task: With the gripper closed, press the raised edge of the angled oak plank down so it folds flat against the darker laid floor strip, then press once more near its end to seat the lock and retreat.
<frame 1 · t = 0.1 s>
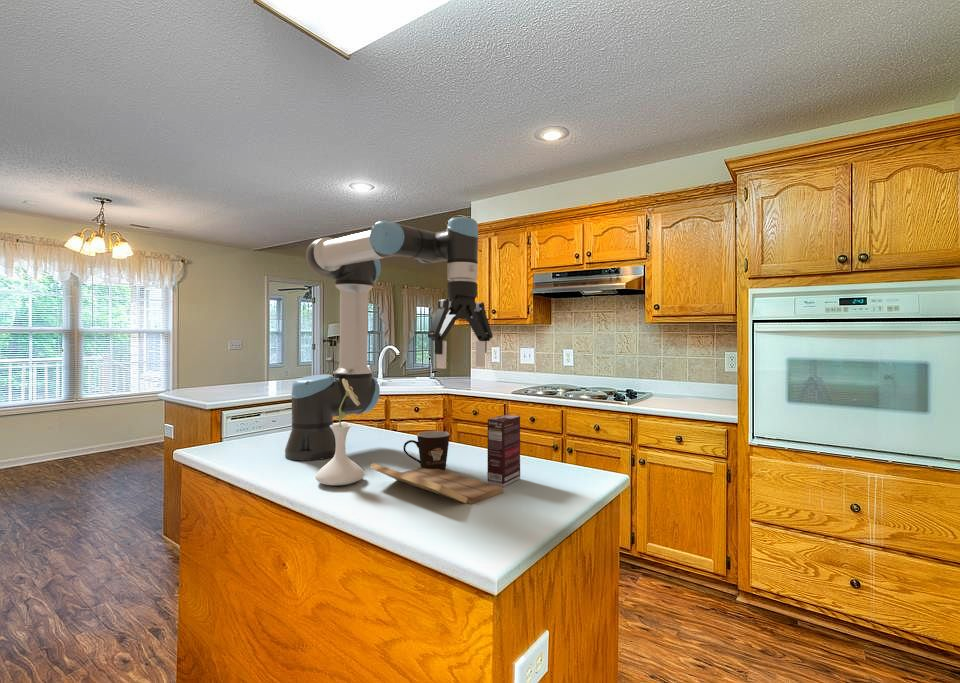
hand: (461, 367, 116), 28 cm above the table, fingers open, 13 cm apart
flower in vase: (340, 482, 114), on the table
plank: (416, 481, 105), point 3 cm above the table, hinge at 30.0°
coffee mug: (427, 472, 125), on the table, touching laid strip
supplement box: (503, 482, 116), on the table
laid strip: (447, 485, 112), on the table
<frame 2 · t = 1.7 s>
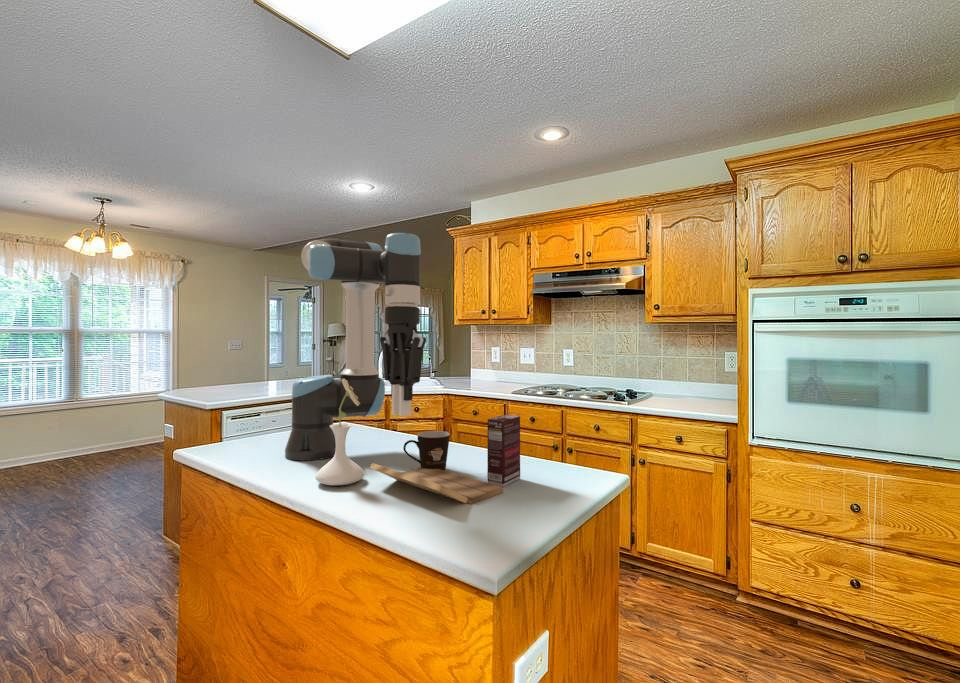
hand: (401, 414, 102), 18 cm above the table, fingers closed
nothing on the table moved.
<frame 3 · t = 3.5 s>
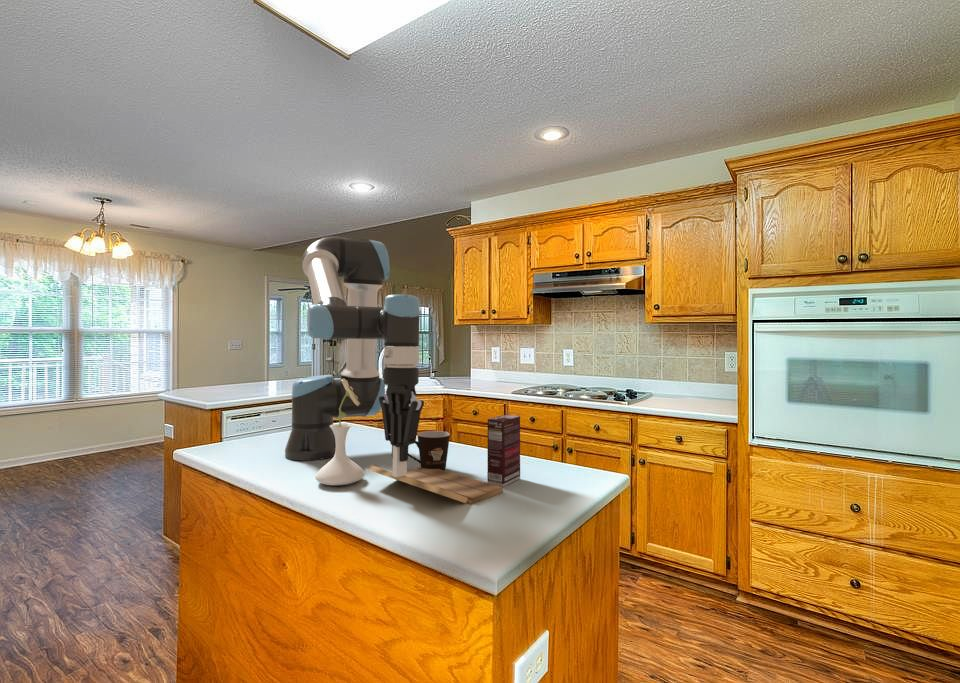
hand: (399, 475, 101), 5 cm above the table, fingers closed
plank: (416, 483, 105), point 3 cm above the table, hinge at 26.4°, touching gripper
everything else where it was.
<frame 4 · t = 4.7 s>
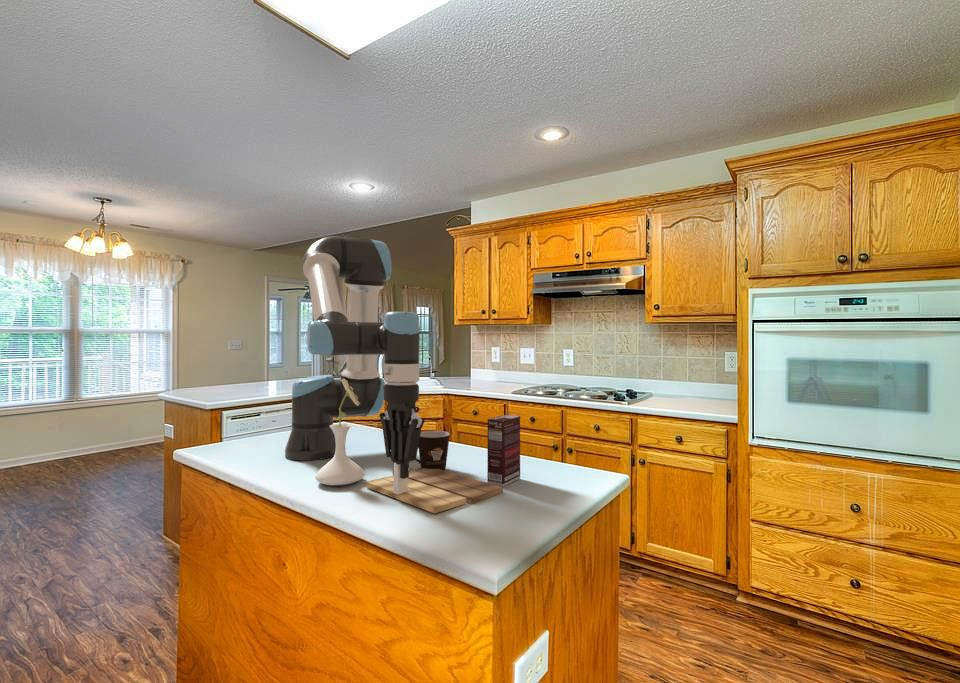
hand: (400, 492, 102), 2 cm above the table, fingers closed
plank: (413, 491, 105), point 1 cm above the table, hinge at 1.8°, touching gripper
everything else where it was.
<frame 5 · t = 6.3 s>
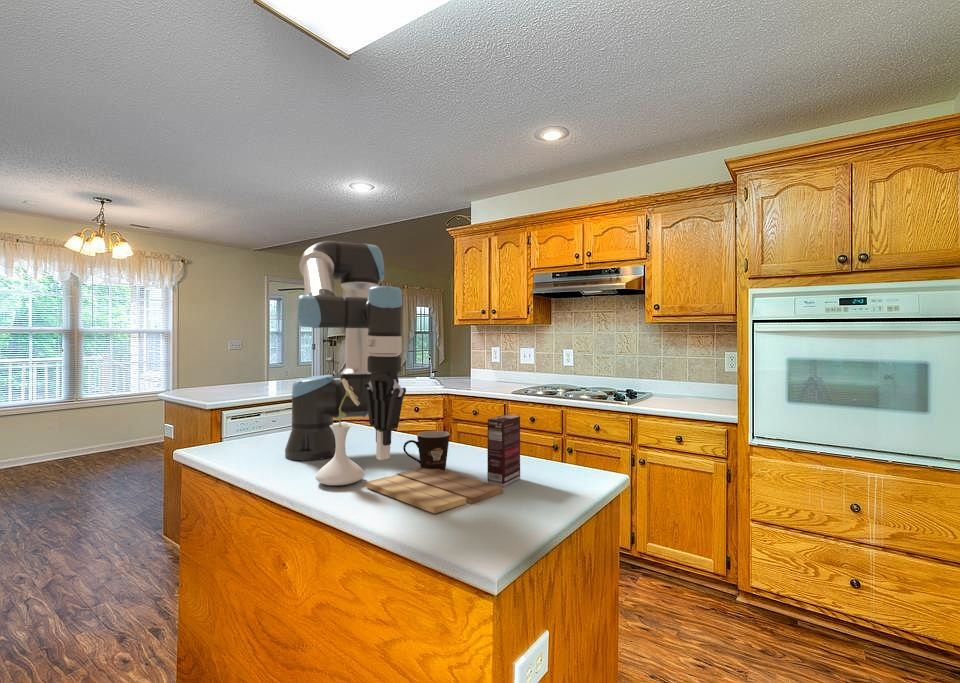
hand: (383, 458, 107), 8 cm above the table, fingers closed
plank: (413, 491, 105), point 1 cm above the table, hinge at 1.6°
everything else where it was.
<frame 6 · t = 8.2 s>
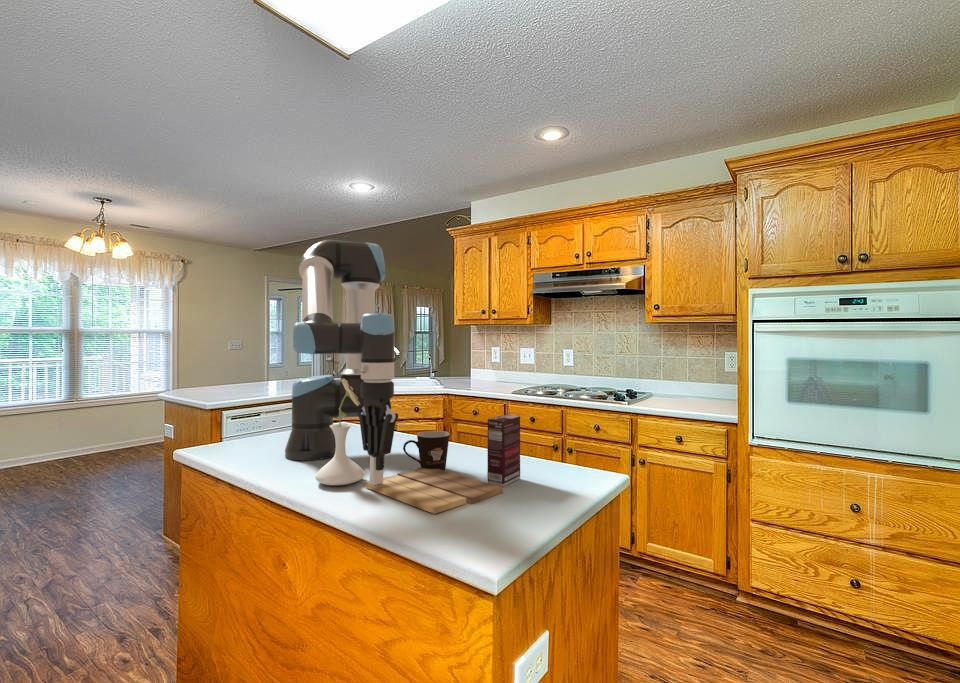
hand: (376, 483, 108), 2 cm above the table, fingers closed
plank: (413, 492, 105), point 1 cm above the table, hinge at 1.2°, touching gripper
everything else where it was.
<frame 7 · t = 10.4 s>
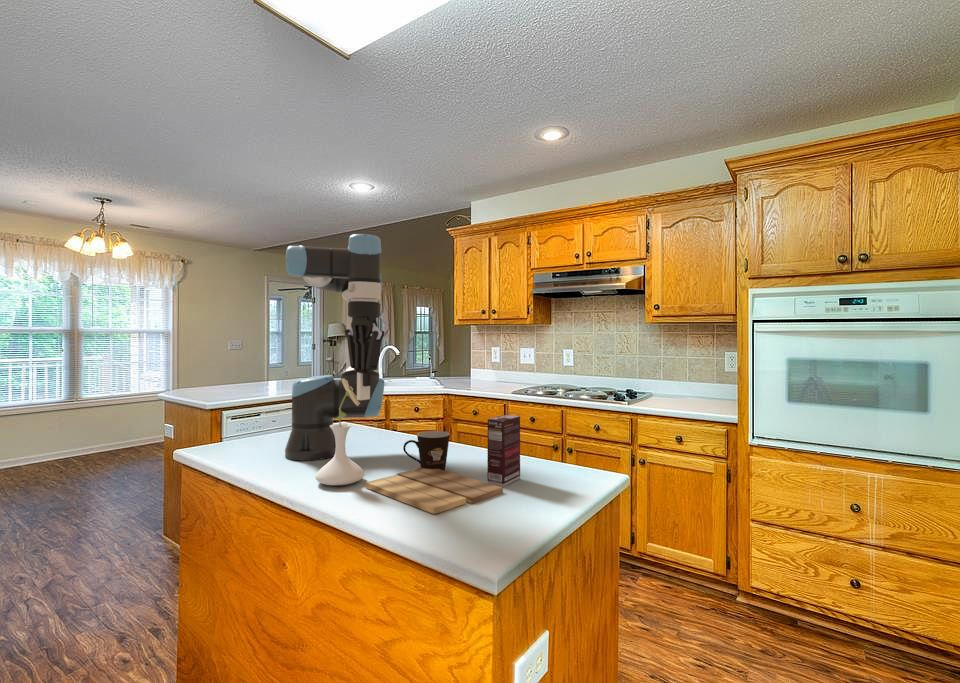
hand: (363, 399, 113), 20 cm above the table, fingers closed
plank: (413, 492, 105), point 1 cm above the table, hinge at 0.9°
everything else where it was.
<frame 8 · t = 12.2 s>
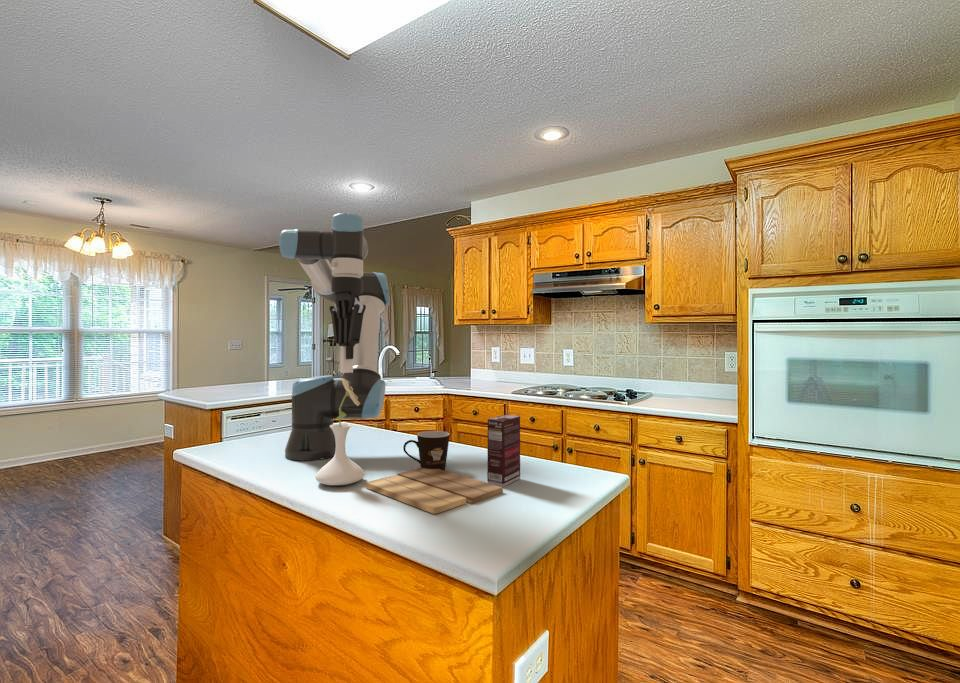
hand: (346, 372, 117), 26 cm above the table, fingers closed
nothing on the table moved.
at the end: plank at +1° (first picture: +30°); plank touching nothing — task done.
